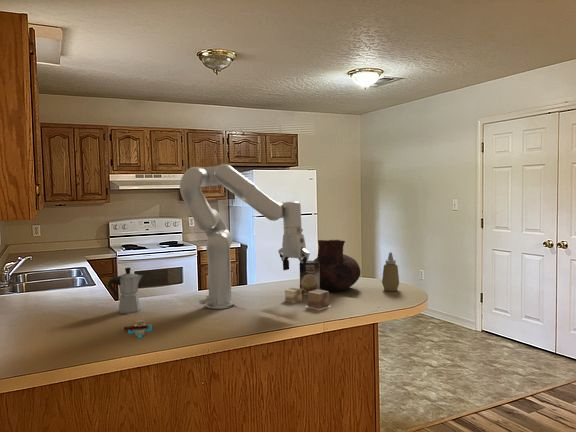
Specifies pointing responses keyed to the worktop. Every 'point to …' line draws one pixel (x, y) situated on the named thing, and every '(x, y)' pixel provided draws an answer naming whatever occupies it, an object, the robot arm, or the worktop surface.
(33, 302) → the worktop surface
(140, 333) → the gear mechanism
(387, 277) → the squeeze bottle
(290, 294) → the maple cube
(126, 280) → the coffee maker
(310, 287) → the coffee box
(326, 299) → the walnut base block
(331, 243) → the jug
